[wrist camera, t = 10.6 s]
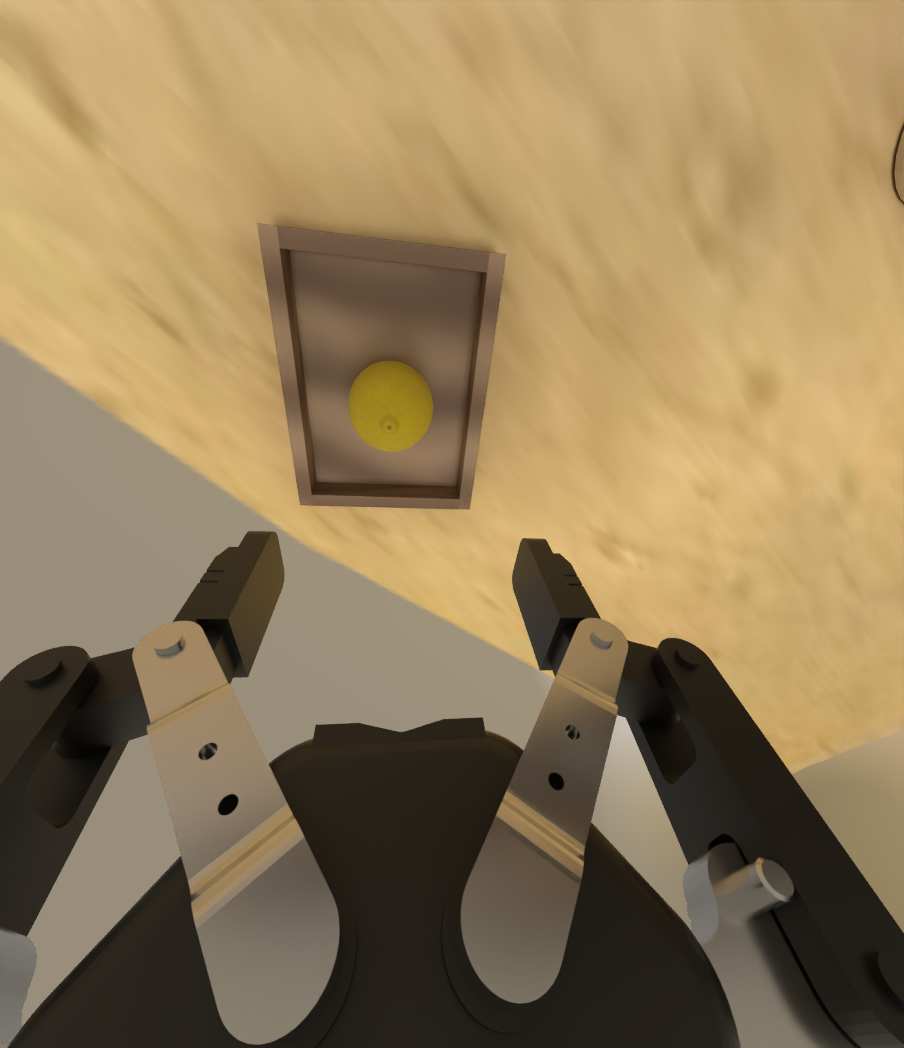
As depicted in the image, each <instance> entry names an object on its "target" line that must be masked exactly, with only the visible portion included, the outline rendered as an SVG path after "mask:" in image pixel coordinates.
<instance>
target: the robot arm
mask: <svg viewBox="0 0 904 1048" xmlns="http://www.w3.org/2000/svg"><path fill="white" fill-rule="evenodd" d="M894 174H895V184H896V189H897V191H898V194H899V196H900V199H901V200H902V201H903V202H904V131H903V133H902V136H901V140H900V144H899V147H898V151H897V154H896V163H895V172H894ZM283 583H284V566H283V561H282V556H281V551H280V546H279V541H278V536H277V534H276V533H275V532H266V531H265V532H264V531H249V532H247V534H246V535H245V537H244V538H243V540H242V542H241V544H240V545H239V547H229V548H227V549H226V550H225V551H223V552H222V553H221V554H219V555H218V556H216V557H215V558H214V560H213V562H212V563H211V564H210V566H209V567H208V569H207V573H205V574H204V575H203V577H202V578H201V580H200V583H198V584H197V586H196V587H195V589H194V590H193V592H192V593H191V595H190V596H189V598H188V599H187V601H186V603H185V604H184V606H183V607H182V609H181V610H180V612H179V613H178V615H177V616H176V618H175V619H174V621H173V622H171V623H168V624H165V625H162V626H160V627H158V628H156V629H154V630H152V631H151V632H149V633H148V634H146V635H145V636H144V637H143V638H142V639H141V640H140V641H139V642H138V643H137V645H136V646H135V647H134V648H131V649H127V650H123V651H120V652H115V653H111V654H107V655H103V656H99V657H95V658H90V657H89V655H88V654H87V652H86V651H85V650H84V649H82V648H80V647H76V646H63V647H57V648H53V649H49V650H46V651H43V652H41V653H38V654H36V655H34V656H32V657H30V658H28V659H27V660H25V661H23V662H22V663H20V664H19V665H17V666H16V667H15V668H14V669H12V670H11V671H10V672H9V673H8V674H7V675H6V676H5V677H4V678H3V680H1V682H0V1048H904V933H903V932H902V930H901V929H900V928H899V926H898V925H897V923H896V922H895V920H894V919H893V917H892V916H891V915H890V913H889V912H888V910H887V909H886V908H885V906H884V905H883V903H882V902H881V901H880V899H879V898H878V896H877V895H876V893H875V892H874V891H873V889H872V888H871V886H870V885H869V883H868V882H867V881H866V879H865V878H864V876H863V875H862V874H861V872H860V871H859V869H858V868H857V866H856V865H855V864H854V862H853V861H852V859H851V858H850V857H849V855H848V854H847V852H846V851H845V849H844V848H843V847H842V845H841V844H840V842H839V841H838V840H837V838H836V837H835V835H834V834H833V832H832V831H831V830H830V828H829V827H828V825H827V824H826V823H825V821H824V820H823V818H822V817H821V815H820V814H819V813H818V811H817V810H816V808H815V807H814V806H813V804H812V803H811V801H810V800H809V798H808V797H807V796H806V794H805V793H804V791H803V790H802V789H801V787H800V786H799V785H798V783H797V782H796V780H795V779H794V777H793V776H792V774H791V773H790V772H789V770H788V769H787V767H786V766H785V764H784V763H783V762H782V760H781V759H780V757H779V756H778V755H777V753H776V752H775V750H774V749H773V747H772V746H771V745H770V743H769V742H768V740H767V739H766V738H765V736H764V735H763V733H762V732H761V730H760V729H759V728H758V726H757V725H756V723H755V722H754V721H753V719H752V718H751V716H750V715H749V714H748V712H747V711H746V709H745V708H744V706H743V705H742V704H741V702H740V701H739V699H738V698H737V697H736V695H735V694H734V692H733V691H732V689H731V688H730V687H729V685H728V684H727V682H726V681H725V680H724V678H723V677H722V675H721V674H720V672H719V671H718V670H717V668H716V667H715V665H714V664H713V663H712V661H711V660H710V658H709V657H708V656H707V655H706V654H705V653H704V652H703V651H702V650H701V649H699V648H698V647H696V646H695V645H693V644H691V643H689V642H687V641H685V640H682V639H678V638H667V639H664V640H663V641H661V643H660V644H659V646H658V647H657V648H654V647H650V646H646V645H642V644H638V643H635V642H631V641H628V640H627V639H626V637H625V635H624V634H623V633H622V632H621V631H620V630H619V629H618V628H617V627H616V626H614V625H613V624H611V623H609V622H608V621H605V620H602V619H601V618H600V616H599V614H598V612H597V611H596V609H595V607H594V605H593V603H592V601H591V600H590V598H589V596H588V594H587V592H586V591H585V589H584V587H583V586H582V583H581V581H580V580H579V578H578V577H577V574H576V572H575V571H574V569H573V567H572V565H571V563H569V562H568V561H567V560H566V559H565V558H564V557H563V556H562V555H561V554H554V553H553V552H552V550H551V548H550V547H549V545H548V543H547V541H546V540H545V539H530V538H523V539H522V540H521V543H520V546H519V550H518V554H517V558H516V562H515V566H514V570H513V576H512V584H513V590H514V593H515V596H516V599H517V602H518V605H519V608H520V611H521V614H522V617H523V620H524V623H525V626H526V629H527V632H528V635H529V638H530V641H531V644H532V647H533V650H534V653H535V657H536V660H537V663H538V666H539V669H540V670H553V673H554V675H555V679H554V682H553V684H552V686H551V689H550V691H549V693H548V696H547V698H546V700H545V703H544V705H543V707H542V709H541V712H540V714H539V717H538V719H537V721H536V723H535V726H534V728H533V731H532V733H531V735H530V738H529V740H528V742H527V744H526V747H525V749H524V751H523V750H522V749H521V748H520V747H519V746H517V745H516V744H514V743H513V742H511V741H510V740H508V739H506V738H504V737H502V736H500V735H498V734H495V733H492V732H489V731H485V728H484V722H483V718H462V719H443V720H440V721H437V722H434V723H431V724H427V725H424V726H421V727H418V728H415V729H412V730H409V731H405V732H397V731H392V730H388V729H383V728H379V727H374V726H370V725H365V724H361V723H349V724H327V725H316V727H315V733H314V737H313V739H311V740H308V741H305V742H303V743H301V744H298V745H296V746H294V747H292V748H291V749H289V750H287V751H285V752H284V753H282V754H281V755H280V756H278V757H277V758H275V759H274V760H273V761H272V762H270V763H269V764H268V762H267V760H266V758H265V756H264V754H263V751H262V749H261V747H260V745H259V743H258V741H257V739H256V737H255V735H254V733H253V731H252V729H251V726H250V724H249V722H248V720H247V718H246V716H245V714H244V712H243V710H242V708H241V706H240V704H239V701H238V699H237V697H236V695H235V693H234V691H233V689H232V687H231V685H230V683H231V681H232V679H233V678H234V677H248V676H249V673H250V670H251V668H252V665H253V663H254V660H255V658H256V655H257V652H258V650H259V647H260V645H261V642H262V639H263V637H264V634H265V632H266V629H267V626H268V623H269V621H270V619H271V616H272V613H273V611H274V608H275V606H276V603H277V600H278V598H279V595H280V593H281V590H282V587H283ZM617 715H619V716H623V717H626V719H627V721H628V724H629V726H630V729H631V731H632V733H633V735H634V738H635V740H636V743H637V745H638V747H639V749H640V752H641V754H642V756H643V759H644V761H645V764H646V766H647V768H648V771H649V773H650V775H651V778H652V780H653V782H654V785H655V787H656V789H657V792H658V794H659V796H660V799H661V801H662V804H663V806H664V808H665V811H666V813H667V815H668V818H669V820H670V822H671V824H672V827H673V829H674V832H675V834H676V836H677V839H678V841H679V843H680V846H681V848H682V850H683V853H684V855H685V858H686V860H687V862H688V867H687V868H686V870H685V873H684V876H683V890H684V896H685V899H686V902H687V912H688V916H689V918H690V920H691V930H690V929H689V928H688V926H687V925H686V924H685V923H684V921H683V920H682V919H681V918H680V917H679V916H678V915H677V913H676V912H675V911H674V910H673V909H672V908H671V907H670V906H669V905H668V904H667V903H666V902H665V901H664V900H663V898H662V897H661V896H660V895H659V894H658V893H657V892H656V891H655V890H654V889H653V888H652V887H651V886H650V885H649V883H648V882H646V880H645V879H644V878H643V877H642V876H641V875H640V874H639V873H638V872H637V871H636V870H635V869H634V867H633V866H632V865H631V864H630V863H629V862H628V861H627V860H626V859H625V858H624V857H623V856H622V855H621V854H620V853H619V852H618V850H617V849H616V848H615V847H614V846H613V845H612V844H611V843H610V842H609V841H608V840H607V839H606V838H605V836H604V835H603V834H602V833H601V832H600V831H599V830H598V829H597V828H596V827H595V826H594V825H593V824H592V823H591V820H592V816H593V812H594V808H595V803H596V799H597V795H598V791H599V787H600V783H601V779H602V775H603V770H604V766H605V762H606V757H607V754H608V749H609V745H610V741H611V737H612V733H613V729H614V725H615V721H616V717H617ZM147 734H148V737H149V741H150V744H151V748H152V751H153V755H154V759H155V763H156V766H157V770H158V773H159V777H160V781H161V784H162V788H163V792H164V795H165V799H166V803H167V806H168V810H169V814H170V817H171V821H172V824H173V828H174V832H175V835H176V839H177V843H178V846H179V850H180V854H181V856H180V857H179V858H178V859H177V860H176V861H175V863H174V864H173V865H172V866H171V867H170V868H169V869H168V870H167V871H166V872H165V873H164V874H163V875H162V876H161V877H160V879H159V880H158V881H157V882H156V883H155V884H154V885H153V886H152V887H151V888H150V889H149V890H148V891H147V892H146V893H145V894H144V895H143V896H142V897H141V899H140V900H139V901H138V902H137V903H136V904H135V905H134V906H133V907H132V908H131V909H130V910H129V911H128V912H127V913H126V914H125V915H124V917H123V918H122V919H121V920H120V921H119V922H118V923H117V924H116V925H115V926H114V927H113V928H112V929H111V930H110V931H109V932H108V933H107V935H106V936H105V937H104V938H103V939H102V940H101V941H100V942H99V943H98V944H97V945H96V946H95V947H94V948H93V949H92V950H91V951H90V953H89V954H88V955H87V956H86V957H85V958H84V959H83V960H82V961H81V962H80V963H79V964H78V965H77V966H76V967H75V968H74V969H73V971H72V972H71V973H70V974H69V975H68V976H67V977H66V978H65V979H64V980H63V981H62V982H61V983H60V984H59V985H58V986H57V987H56V989H55V990H54V991H53V992H52V993H51V994H50V995H49V996H48V997H47V999H45V1000H44V1001H43V1003H42V1004H41V1005H40V1006H39V1007H38V1008H37V1009H36V1011H35V1012H34V1013H33V1014H32V1015H31V1017H30V1018H29V1019H28V1021H27V1022H26V1023H25V1024H24V1025H23V1027H22V1022H21V1018H22V1009H23V1005H24V1002H25V1000H26V997H27V993H28V989H29V986H30V984H31V981H32V978H33V976H34V972H35V968H36V962H37V953H36V947H35V945H34V943H33V942H32V941H31V939H30V938H28V937H27V935H28V933H29V931H30V929H31V928H32V925H33V924H34V922H35V920H36V918H37V916H38V914H39V912H40V910H41V908H42V906H43V904H44V903H45V901H46V899H47V897H48V895H49V893H50V891H51V889H52V887H53V885H54V883H55V881H56V880H57V877H58V876H59V874H60V872H61V870H62V868H63V866H64V864H65V862H66V860H67V858H68V857H69V854H70V853H71V851H72V849H73V847H74V845H75V843H76V841H77V839H78V837H79V835H80V834H81V832H82V830H83V828H84V826H85V824H86V822H87V820H88V818H89V816H90V814H91V812H92V810H93V808H94V807H95V805H96V803H97V801H98V799H99V797H100V795H101V793H102V791H103V789H104V787H105V786H106V784H107V782H108V780H109V778H110V776H111V774H112V772H113V770H114V768H115V766H116V764H117V763H118V760H119V759H120V757H121V755H122V753H123V751H124V749H125V747H126V745H127V743H128V741H129V740H132V739H135V738H138V737H141V736H144V735H147Z"/></svg>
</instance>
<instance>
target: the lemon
mask: <svg viewBox="0 0 904 1048" xmlns="http://www.w3.org/2000/svg"><path fill="white" fill-rule="evenodd" d="M348 407H349V415H350V419H351V421H352V424H353V426H354V429H355V430H356V431H357V433H358V434H359V436H360V437H361V438H362V439H363V440H364V441H365V442H366V443H368V444H369V445H371V446H373V447H374V448H376V449H379V450H383V451H389V452H397V451H402V450H405V449H408V448H410V447H412V446H413V445H415V444H416V443H417V442H418V441H420V440H421V438H422V437H423V436H424V434H425V433H426V432H427V430H428V428H429V425H430V423H431V420H432V414H433V401H432V395H431V392H430V390H429V387H428V385H427V383H426V382H425V380H424V379H423V377H422V376H421V375H420V374H419V373H418V372H417V371H416V370H415V369H413V368H412V367H410V366H408V365H406V364H404V363H402V362H397V361H392V360H391V361H380V362H377V363H374V364H371V365H370V366H368V367H367V368H366V369H364V370H363V371H362V372H361V373H360V374H359V375H358V377H357V378H356V379H355V380H354V383H353V385H352V387H351V390H350V393H349V401H348Z"/></svg>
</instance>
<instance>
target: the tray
mask: <svg viewBox="0 0 904 1048" xmlns="http://www.w3.org/2000/svg"><path fill="white" fill-rule="evenodd" d="M257 225H258V231H259V238H260V244H261V251H262V258H263V264H264V271H265V277H266V284H267V290H268V297H269V303H270V310H271V317H272V323H273V330H274V336H275V343H276V349H277V356H278V363H279V369H280V376H281V382H282V389H283V395H284V402H285V409H286V415H287V422H288V428H289V435H290V441H291V448H292V455H293V461H294V468H295V474H296V481H297V487H298V494H299V501H300V505H312V506H352V507H391V508H431V509H470V503H471V496H472V489H473V482H474V475H475V468H476V461H477V454H478V447H479V440H480V433H481V426H482V419H483V412H484V405H485V398H486V391H487V384H488V377H489V370H490V363H491V356H492V349H493V342H494V335H495V328H496V321H497V315H498V308H499V301H500V294H501V287H502V280H503V273H504V266H505V259H506V254H499V253H491V252H483V251H475V250H467V249H459V248H451V247H443V246H435V245H427V244H419V243H411V242H403V241H395V240H387V239H379V238H371V237H363V236H355V235H347V234H339V233H331V232H323V231H315V230H307V229H299V228H291V227H283V226H275V225H267V224H259V223H257ZM391 360H392V361H397V362H402V363H404V364H406V365H408V366H410V367H412V368H413V369H415V370H416V371H417V372H418V373H419V374H420V375H421V376H422V377H423V379H424V380H425V382H426V383H427V385H428V387H429V390H430V392H431V395H432V401H433V414H432V420H431V423H430V425H429V428H428V430H427V432H426V433H425V434H424V436H423V437H422V438H421V440H420V441H418V442H417V443H416V444H415V445H413V446H412V447H410V448H408V449H405V450H402V451H397V452H389V451H383V450H379V449H376V448H374V447H373V446H371V445H369V444H368V443H366V442H365V441H364V440H363V439H362V438H361V437H360V436H359V434H358V433H357V431H356V430H355V429H354V426H353V424H352V421H351V419H350V415H349V407H348V401H349V393H350V390H351V387H352V385H353V383H354V380H355V379H356V378H357V377H358V375H359V374H360V373H361V372H362V371H363V370H364V369H366V368H367V367H368V366H370V365H371V364H374V363H377V362H380V361H391Z"/></svg>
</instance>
